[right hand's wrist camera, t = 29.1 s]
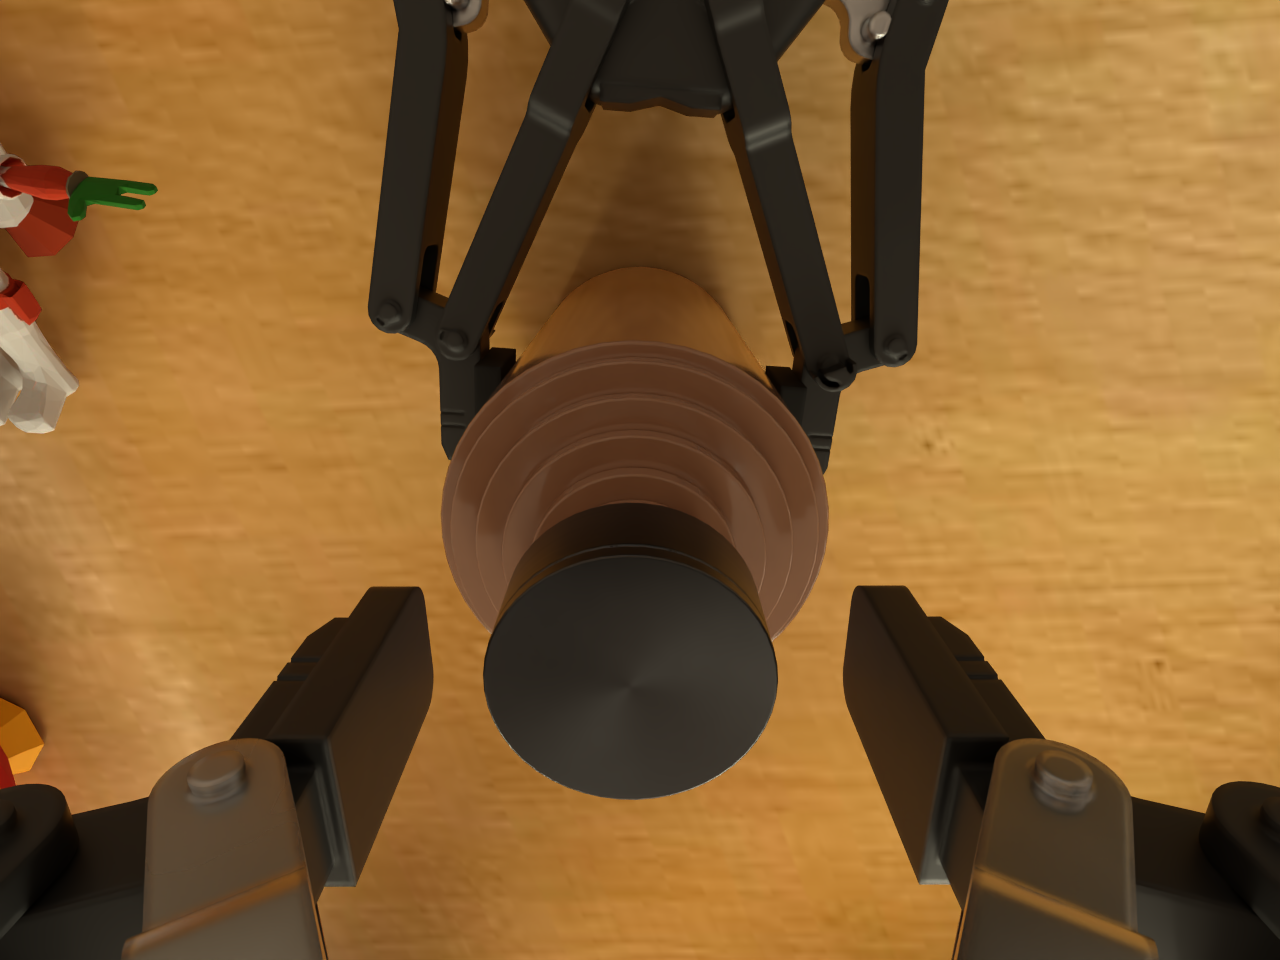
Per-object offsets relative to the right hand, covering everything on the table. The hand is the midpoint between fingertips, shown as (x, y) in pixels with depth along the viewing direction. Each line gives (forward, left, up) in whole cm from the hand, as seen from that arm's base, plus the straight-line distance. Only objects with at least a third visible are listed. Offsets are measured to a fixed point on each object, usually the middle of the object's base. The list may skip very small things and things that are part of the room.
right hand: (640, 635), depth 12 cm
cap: (0, 0, +1) cm, 1 cm away
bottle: (0, 0, -18) cm, 18 cm away
